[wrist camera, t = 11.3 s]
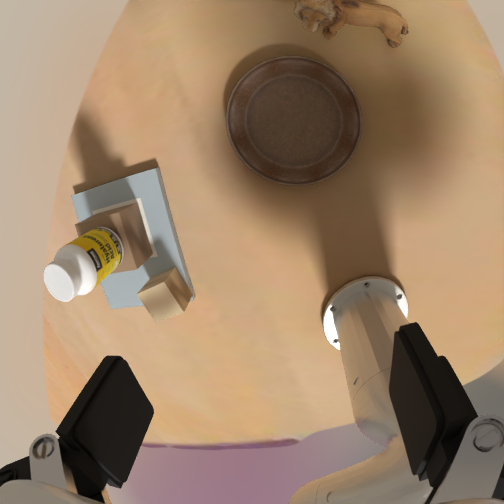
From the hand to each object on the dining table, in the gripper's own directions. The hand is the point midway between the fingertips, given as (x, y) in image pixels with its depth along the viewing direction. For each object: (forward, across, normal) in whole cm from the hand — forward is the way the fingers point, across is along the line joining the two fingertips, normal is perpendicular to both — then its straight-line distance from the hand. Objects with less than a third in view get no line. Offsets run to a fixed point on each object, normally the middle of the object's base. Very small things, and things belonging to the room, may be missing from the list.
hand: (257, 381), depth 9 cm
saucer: (+29, -4, -9) cm, 30 cm away
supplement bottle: (+22, +20, 0) cm, 30 cm away
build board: (+28, +20, +2) cm, 35 cm away
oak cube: (+27, +16, +8) cm, 32 cm away
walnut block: (+27, +20, 0) cm, 34 cm away
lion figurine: (+29, -13, -20) cm, 37 cm away
